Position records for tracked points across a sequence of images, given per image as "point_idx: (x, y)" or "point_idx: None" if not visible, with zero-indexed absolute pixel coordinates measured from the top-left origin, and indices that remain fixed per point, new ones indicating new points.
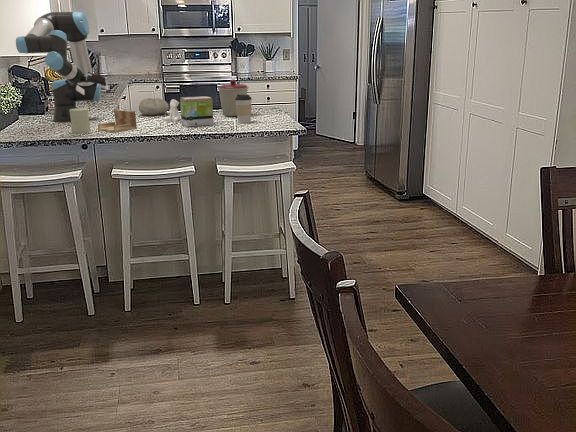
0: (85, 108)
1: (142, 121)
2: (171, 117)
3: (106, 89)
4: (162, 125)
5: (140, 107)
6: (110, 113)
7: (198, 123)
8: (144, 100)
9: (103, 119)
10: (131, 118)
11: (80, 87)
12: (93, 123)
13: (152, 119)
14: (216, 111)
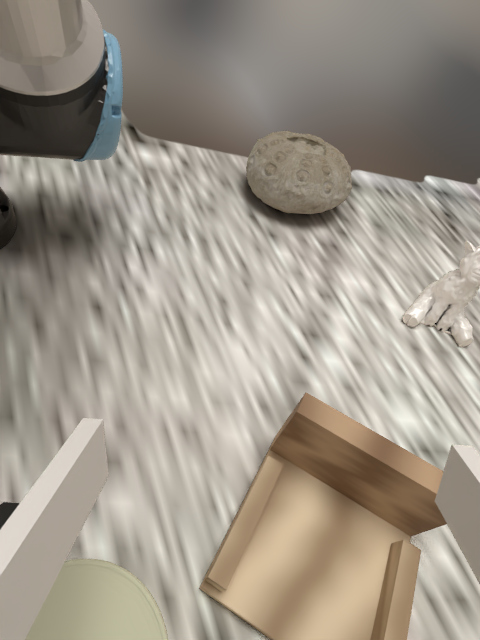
0: (125, 584)
1: (317, 310)
2: (441, 314)
3: (447, 516)
4: (466, 420)
5: (265, 183)
6: (120, 146)
7: None
8: (285, 155)
9: (125, 241)
10: (429, 517)
11: (55, 496)
12: (102, 327)
13: (332, 274)
14: (442, 190)
